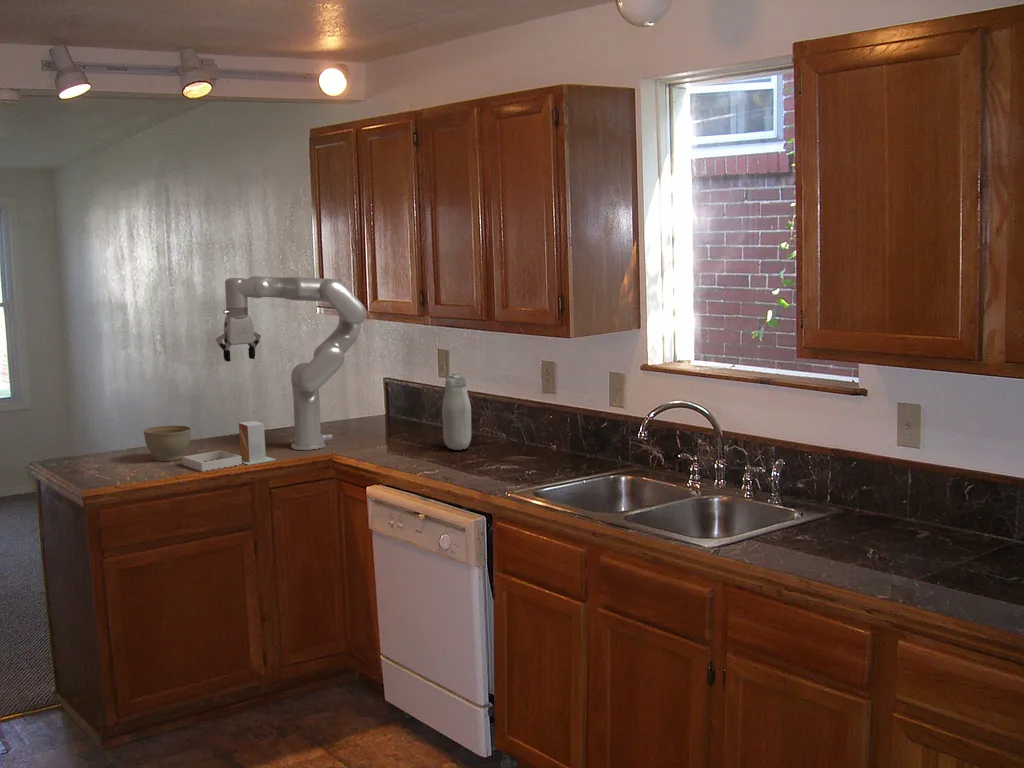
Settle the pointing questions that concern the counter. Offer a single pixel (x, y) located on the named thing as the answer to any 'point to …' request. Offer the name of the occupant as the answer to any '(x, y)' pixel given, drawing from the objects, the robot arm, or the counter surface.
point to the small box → (252, 441)
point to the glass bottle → (456, 413)
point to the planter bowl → (167, 441)
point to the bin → (199, 464)
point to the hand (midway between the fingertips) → (239, 359)
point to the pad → (258, 461)
